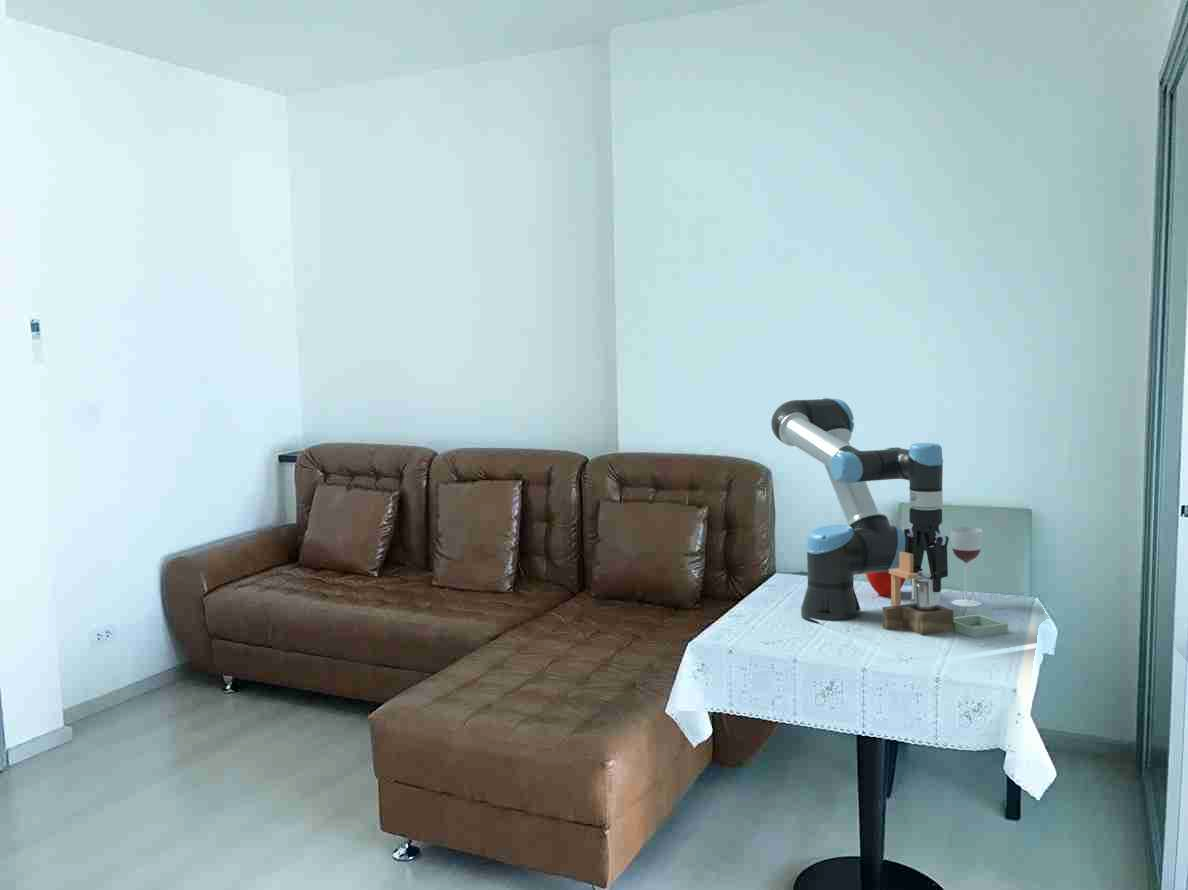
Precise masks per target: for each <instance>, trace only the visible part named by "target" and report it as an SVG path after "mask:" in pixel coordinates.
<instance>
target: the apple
mask: <svg viewBox="0 0 1188 890" xmlns="http://www.w3.org/2000/svg"><path fill="white" fill-rule="evenodd" d="M865 575H866V578H867V581H868V582H869V584H870V586H871V587H872V589H873V590H874V591H875V592H876V593H877V594H878V595H880V596H883V597H891V574H889V571H887V572H877V573H866V574H865ZM906 580H907V579H905V578H902V577H901V589H902V588H903V586H904V583H905V582H906Z"/></svg>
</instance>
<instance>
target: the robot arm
mask: <svg viewBox="0 0 1188 890" xmlns="http://www.w3.org/2000/svg"><path fill="white" fill-rule="evenodd" d="M770 425H771V431H772V432H773V433H772V434H774V436H775V437H776V438H777V439H778V441H780V442H781V443H783V444H784V445H787V446H788V447H796V448H798V449H799V450H801V451H802V452H804V453H806V454H807V455H809V456H811V457H812V458H814V459H816V460H817V461H819V462H820V463H822V464H823V465H824V467H825V470H826V472H827V475H828V477H829V481H830V482H831V485H832V487H833V490H834V492H835V495H836V497H837V499H838V501H839V505H840V507H841V509H842V512H843V515H844V517H845V519H846V522H847V524H830V525H824V526H820V527H816V528H813V529H812V530H811V531H810V532H809V533H808V534H807V535H808V536H807V540H806V541H807V543H806V551H807V552H806V553H807V554H806V558H807V559H806V560H807V561H806V563H807V564H806V565H807V586H806V587H807V588H806V591H805V594H804V596H803V600H802V604H801V607H800V615H801V616H800V617H802V618H803V619H805V620H806V621H809V622H814V623H817V624H818V623H820V622H819V621H817V620H820V621H828V622H830V621H831V622H833V621H834V622H839V621H841V622H843V621H850V620H854V619H857V618H859V617H860V616H861V613H862V611H861V606H860V603H859V601H858V597H857V594H856V591H855V589H854V586H855V585H854V575H864V574H865V575H866V573H877V572H887V571H889V569H895V568H899V552H902V551H903V552H907V553H910V554H913V572H914V573H917V574H919V573H923V571H924V569H922V565H923V564H922V563H923V560H924V555H925V552H926V556H927V561H928V562H927V563H928V567H929V574H931V577H929V605H930V606H932V605H939V606H941V605H940V604H941V590H942V579H944V578H947V577H949V576H948V575H949V573H948V571H949V569H948V567H949V566H948V544H949V539H950V538H949V536H946V535H945V536H944V535H942V534H941V531H940V525H941V524H942V523H943V509H942V508H941V507H943V505H944V504H943V502H944V501H943V470H944V469H943V463H944V459H943V448H942V446H941V445H940V444H939V443H935V442H934V443H932V442H931V443H929V442H917V443H911V444H910V445H909V449H905V448H902V447H896V446H895V447H885V448H884V449H875V450H874V449H873V450H859V449H857V448H855V447H854V446H851V444H850V440H851V439H852V434H853V431H854V428H855V426H854V425H855V423H854V414H853V412H852V409H851V407H850V406H849V405H848V404H847V403H846V402H845V401H844V400H841V399H838V398H831V397H824V398H822V399H819V398H818V399H796V400H795V399H793V400H790V401H785V402H784V403H782V404H781V405H779V406H778V407H777V408H776V410H774V413H773V415H772V417H771V423H770ZM887 480H888V481H890V480H905V481H906V480H907V481H908V482H909V506H910V508H909V509H908V510H909V513H908V514H909V515H908V516H909V523H910V524H911V525H912V526H911V528H904V529H902V528H900V527H899V526H896V525H891V524H890V521H889V519H888V516H887V515H886V514H884V513H881V512H880V511H878V510H879V509H878V508H877V505H876V503H875V501H874V498H873V495H872V494H871V491H870V488H869V487H868V484H867V482H875V481H887ZM910 584H911V600H913V601H916V581H915V580H914V579H910ZM820 624H821V623H820Z"/></svg>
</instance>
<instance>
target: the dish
mask: <svg viewBox="0 0 1188 890" xmlns="http://www.w3.org/2000/svg"><path fill="white" fill-rule="evenodd" d="M971 625H980V626H976V627H975V626H971ZM953 631H955V632H957V633H960V634H963V635H965V636H969V637H971V638H973V639H974V638H975V639H976V638H980V637H987V636H993V635H994V636H995V635H1001V634H1007V633H1009V624H1008V623H1005V622H1004V621H1000V620H997V619H994V618H991V617H988V616H986V615H982V614H979V613H976V614H971V615H970V614H969V615H963V616H956V617H955V616H953Z"/></svg>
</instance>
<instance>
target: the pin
mask: <svg viewBox="0 0 1188 890" xmlns="http://www.w3.org/2000/svg"><path fill="white" fill-rule="evenodd" d="M929 577H931V573H927V572H926V573H924V572H922V573H919V578H916V579H914V580H915V581H916V600H915V603H916V610H919V611H922V612H929V611H935V605H932V606H930V605H929Z"/></svg>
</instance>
